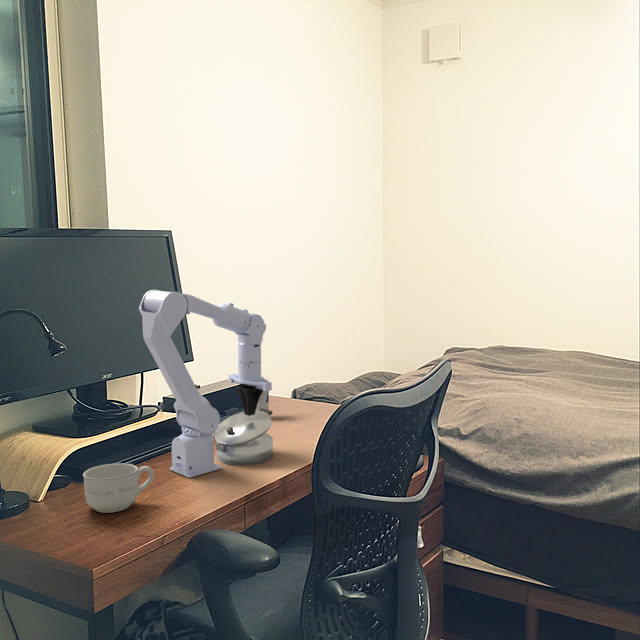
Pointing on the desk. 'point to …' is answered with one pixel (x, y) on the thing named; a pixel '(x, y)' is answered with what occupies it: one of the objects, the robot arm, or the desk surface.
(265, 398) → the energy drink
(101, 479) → the teacup
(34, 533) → the desk surface
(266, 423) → the lid
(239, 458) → the pot
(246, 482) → the desk surface
